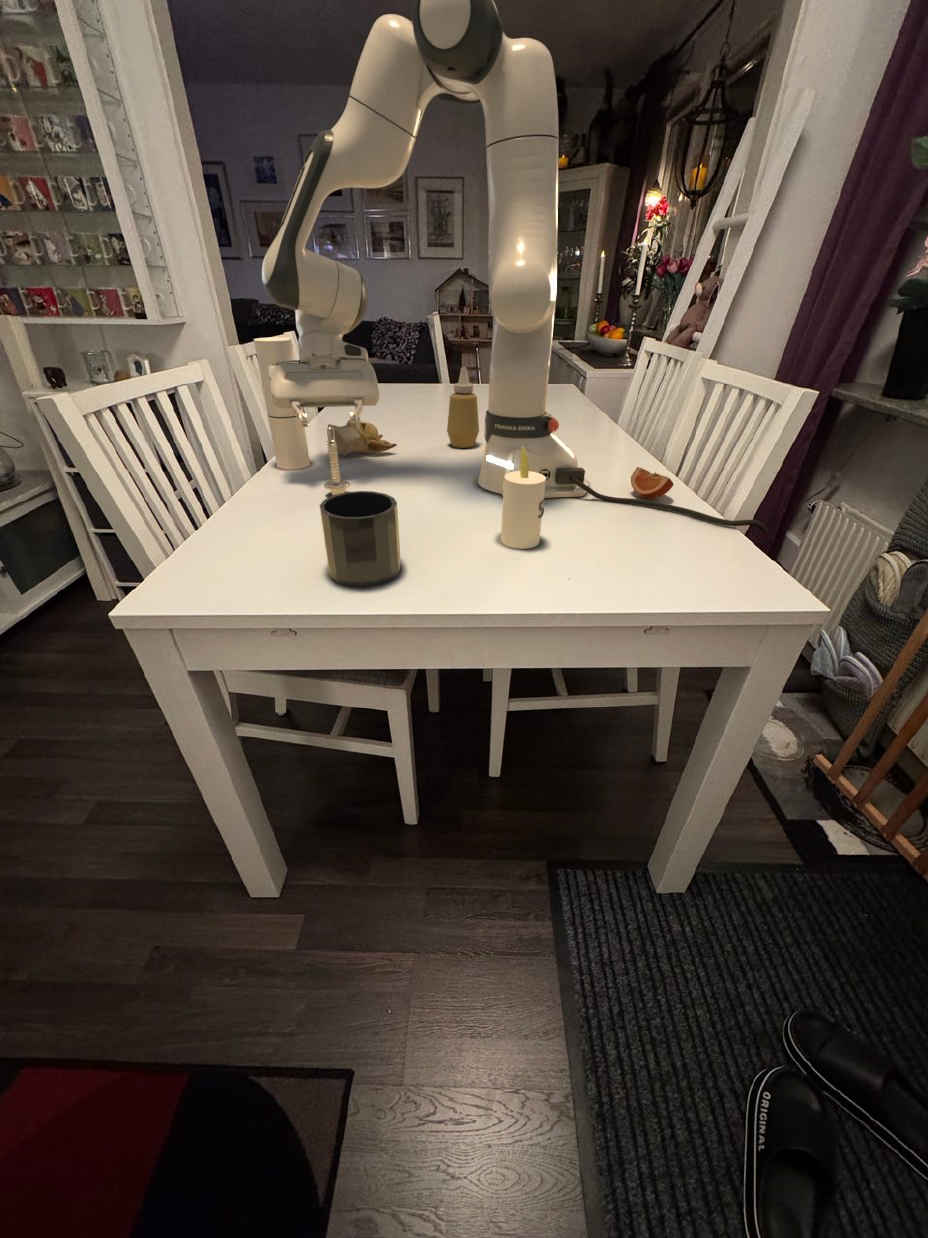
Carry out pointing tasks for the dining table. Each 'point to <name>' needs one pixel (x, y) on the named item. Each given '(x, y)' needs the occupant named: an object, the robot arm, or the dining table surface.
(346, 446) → the ceramic sculpture
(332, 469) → the screw
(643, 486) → the fruit slice
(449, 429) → the squeeze bottle
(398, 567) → the holder
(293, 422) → the cylindrical container
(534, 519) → the candle
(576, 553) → the dining table surface
